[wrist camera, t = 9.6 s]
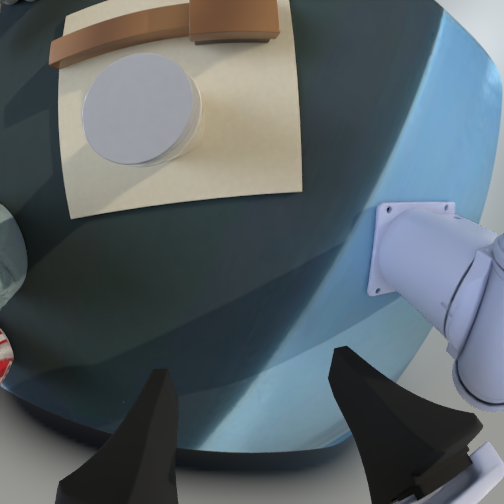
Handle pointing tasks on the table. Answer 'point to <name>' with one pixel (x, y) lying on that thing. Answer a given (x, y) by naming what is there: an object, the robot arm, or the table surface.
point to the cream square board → (216, 114)
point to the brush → (172, 28)
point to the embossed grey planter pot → (11, 256)
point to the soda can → (5, 356)
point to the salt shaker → (143, 111)
